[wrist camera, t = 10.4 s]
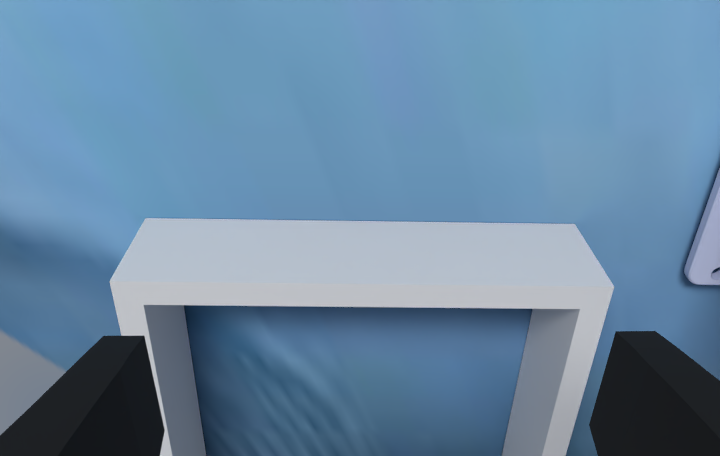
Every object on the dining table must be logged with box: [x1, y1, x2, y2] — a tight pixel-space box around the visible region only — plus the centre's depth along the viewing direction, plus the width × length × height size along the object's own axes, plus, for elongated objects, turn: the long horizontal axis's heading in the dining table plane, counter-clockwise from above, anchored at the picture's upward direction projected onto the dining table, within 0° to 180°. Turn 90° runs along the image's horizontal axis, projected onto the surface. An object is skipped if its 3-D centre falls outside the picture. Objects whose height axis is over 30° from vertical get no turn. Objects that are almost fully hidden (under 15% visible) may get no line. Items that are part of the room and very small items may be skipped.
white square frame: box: [110, 218, 614, 456], centre depth 22 cm, size 14×14×4 cm
